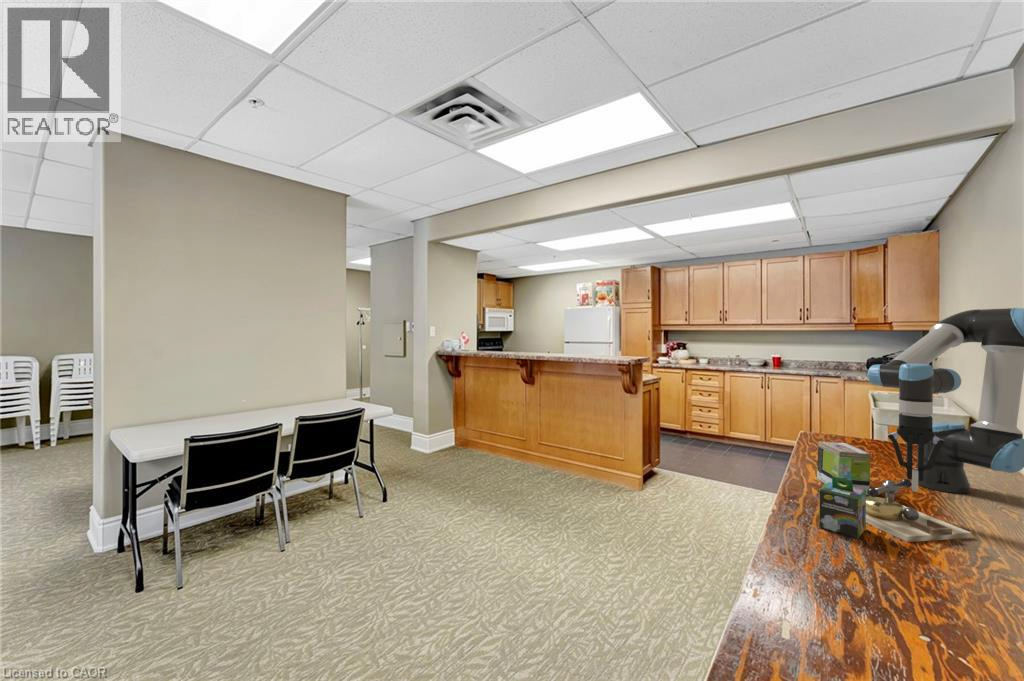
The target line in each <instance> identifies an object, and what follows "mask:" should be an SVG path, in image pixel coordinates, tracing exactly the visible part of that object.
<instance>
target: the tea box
mask: <svg viewBox="0 0 1024 681" xmlns="http://www.w3.org/2000/svg"><path fill="white" fill-rule="evenodd" d="M871 460H872V459H871V453H870V452H867V451H865V450H863V449H861V448H859V447H856V446H853V445H852V444H849V443H847V442H833V441H818V442H817V467H816V468H817V470H816V476H817V477H816V479H817V480H819V481H820V482H822V483H823V484H824V485H825V484H827V483H828V482H831V483H832V477H839V478H843V479H848V480H851V481H852V482H853V487H856V488H860V489H865V490H866V496H869V495H868V494H867V490H868V489H869V488H871V487H870V480H871ZM838 484H841V485H846V486H847V484H846V483H845V482H842V481H839V482H838Z"/></svg>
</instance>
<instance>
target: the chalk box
mask: <svg viewBox="0 0 1024 681" xmlns="http://www.w3.org/2000/svg"><path fill="white" fill-rule="evenodd" d="M839 481H842V482H845V483H846V484H847V486H846V485H841V484H838V482H839ZM818 495H819V501H818V502H819V504H818V506H819V509H818V510H819V512H818V515H819V518H818V519H819V520H818V521H819V522H818V523H819V526H818V527H819V529H824V530H828V531H831V532H834V533H838V534H839V535H844V536H846V537H850V538H853V539H856V540H858V539H859V538H860V537H861V536H862V534H864V532H865V530H866V529H867V523H866V497H867V495H866V490H865V489H860V488H856V487H853V482H852V481H851V480H848V479H843V478H839V477H832V483H831V482H828V483H827V484H825V483H824V485H823V486H822V487H821V488H820V489H819V494H818Z"/></svg>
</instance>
